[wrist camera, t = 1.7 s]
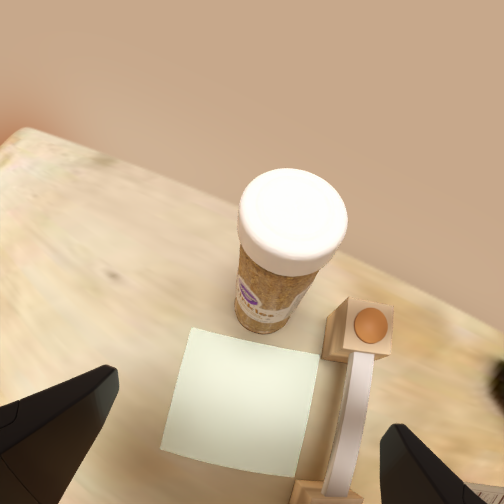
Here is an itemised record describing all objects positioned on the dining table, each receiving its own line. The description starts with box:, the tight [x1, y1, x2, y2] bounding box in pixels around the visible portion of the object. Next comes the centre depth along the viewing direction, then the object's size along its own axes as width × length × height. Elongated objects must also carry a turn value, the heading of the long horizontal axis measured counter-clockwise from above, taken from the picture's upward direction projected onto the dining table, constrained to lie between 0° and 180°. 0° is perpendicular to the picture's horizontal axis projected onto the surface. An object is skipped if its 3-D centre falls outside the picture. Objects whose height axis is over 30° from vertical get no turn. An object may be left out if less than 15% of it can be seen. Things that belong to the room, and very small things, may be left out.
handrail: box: [289, 297, 394, 504], centre depth 17 cm, size 17×4×5 cm, turn 168°
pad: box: [160, 327, 320, 478], centre depth 20 cm, size 10×10×1 cm
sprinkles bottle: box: [235, 168, 348, 334], centre depth 18 cm, size 5×5×13 cm
